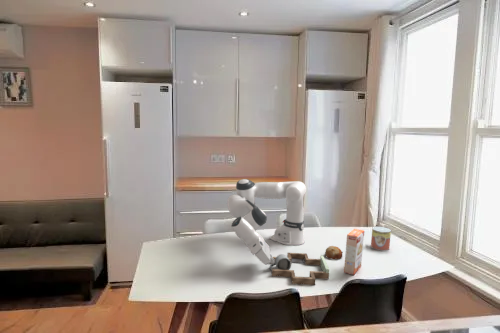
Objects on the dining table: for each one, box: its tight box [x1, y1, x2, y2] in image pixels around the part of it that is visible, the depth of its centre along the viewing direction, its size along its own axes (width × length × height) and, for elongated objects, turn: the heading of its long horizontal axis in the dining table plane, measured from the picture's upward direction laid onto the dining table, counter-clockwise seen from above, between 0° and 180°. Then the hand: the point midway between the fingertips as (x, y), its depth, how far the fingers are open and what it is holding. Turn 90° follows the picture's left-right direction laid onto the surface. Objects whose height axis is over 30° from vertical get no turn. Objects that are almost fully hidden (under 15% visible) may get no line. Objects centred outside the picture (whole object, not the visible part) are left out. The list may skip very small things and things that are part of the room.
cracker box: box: [343, 228, 365, 276], centre depth 189 cm, size 14×6×21 cm, turn 148°
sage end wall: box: [319, 255, 330, 274], centre depth 187 cm, size 2×18×5 cm, turn 178°
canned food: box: [370, 226, 392, 252], centre depth 226 cm, size 11×11×12 cm
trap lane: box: [271, 252, 330, 286], centre depth 187 cm, size 28×33×3 cm
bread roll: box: [324, 245, 344, 260], centre depth 209 cm, size 10×10×8 cm
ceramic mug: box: [269, 253, 292, 271], centre depth 187 cm, size 11×8×8 cm
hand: (273, 262), depth 186 cm, fingers closed
